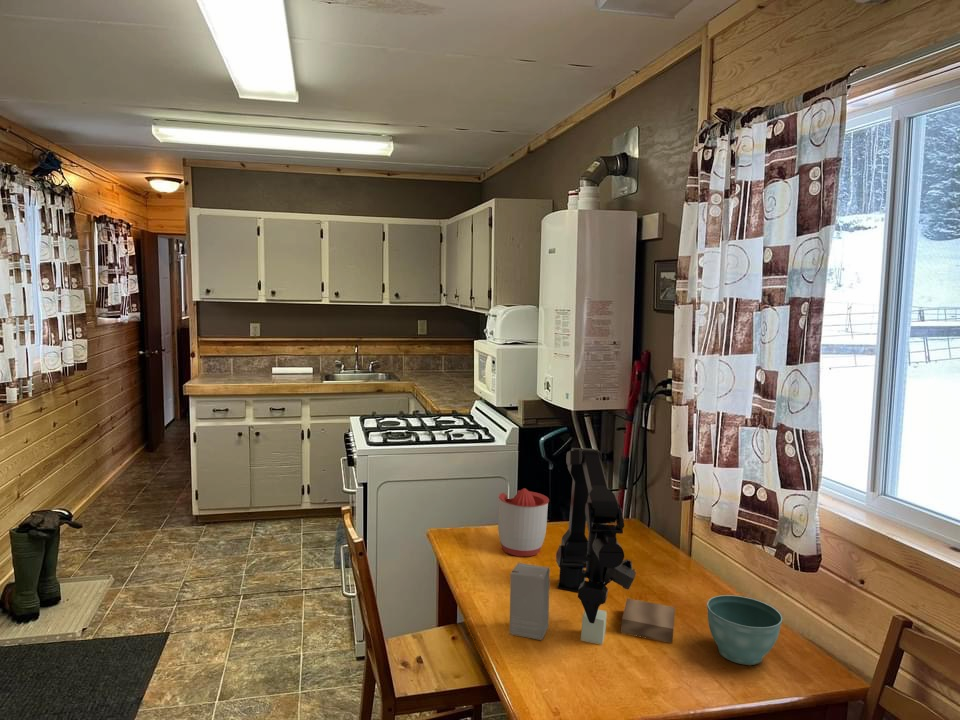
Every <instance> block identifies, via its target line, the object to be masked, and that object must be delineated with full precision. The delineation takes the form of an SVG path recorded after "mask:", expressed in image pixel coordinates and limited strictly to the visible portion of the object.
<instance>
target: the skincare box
mask: <svg viewBox="0 0 960 720" xmlns="http://www.w3.org/2000/svg"><path fill="white" fill-rule="evenodd" d="M509 584H510V587H509V588H510V589H509V592H510V593H509V595H510V597H509V599H510V601H509V602H510V603H509V635H511V636H517V637H522V638H528V639H533V640H538V641H543V639H544V637H545V635H546V633H547V630H548V629H549V616H550V615H549V614H550V613H549V612H550V611H549V609H550V567H549V566H541V565H535V564H528V563H522V562H517V563H516V565H515V566H514V568H512V571H511V572H510V583H509Z"/></svg>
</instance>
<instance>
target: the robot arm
mask: <svg viewBox="0 0 960 720" xmlns="http://www.w3.org/2000/svg"><path fill="white" fill-rule="evenodd" d="M565 460H566V461H565V462H566V465H567V469H568V472H569V474H570V475H571V478H572V484H571V493H570V494H571V495H570V497H571V498H570V506H569V517H568V519H569V522H568V529H567V530H566V531H565V533H564V534H563V536H561V537H562V538H561V543H560V545H559V546H558V548H557V551H556V553H555V555H556V556H555V560H556V561H555V562H556V564H557V566H558V568H559V577H558V584H557V586H556V587H557V589H559V590H564V591H565V590H566V591H571V592H574V593H575V592H576V593H577V598H578V599H579V601H580V603H581V604H582V607H583V610H584V611H585V612H586V615H587V617H588V620H589V622H590V623H594V622H595V619H596V615H597V611H598V610H599V609H600V608H599V607H600V606H601V605H604V604H605V603H606V601H607V598H608V592H609V589H608V587H607V585H608V584H610V583H611V582H613V583H615V584H617V585H619V586H621V587H622V588H623V589H624V590H630V588H631V586H632V584H633V582H634V580H635V577H636V571H635V569H634V568H633V562H632V560H630V559H628V558H625V552H624V550H623V548H622V546H621V544H620V543H619V542H618V540H617V534H623V535H624V530H623V529H624V527H625V522H624V515H623V509H622V508H621V504H620V503H619V502H618V500H617V497H616V495H615V493H614V492H613V491H612V490H611V489H609V488H608V484H607V481H606V477H605V473H604V469H603V465H602V452H601V450H598V449H596V448H595V449H594V448H581V447H580V448H579V447H578V448H577V447H571V449H570V450H569V451H567V452H566V457H565ZM615 523H616V524H615ZM586 527H587V530H588V537H587V536H586ZM624 558H625V559H624ZM586 579H588V580H586Z"/></svg>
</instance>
